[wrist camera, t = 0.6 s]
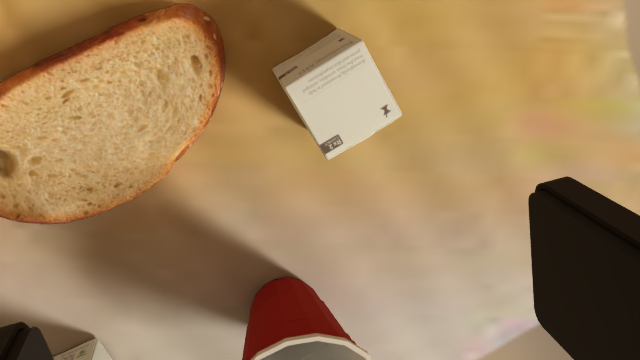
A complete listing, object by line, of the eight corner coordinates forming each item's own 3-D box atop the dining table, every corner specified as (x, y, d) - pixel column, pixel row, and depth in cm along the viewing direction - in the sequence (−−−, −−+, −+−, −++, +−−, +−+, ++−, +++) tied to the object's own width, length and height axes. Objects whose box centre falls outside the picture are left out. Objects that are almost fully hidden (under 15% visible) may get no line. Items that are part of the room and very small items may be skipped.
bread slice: (234, 13, 41) (238, 16, 38) (196, 236, 46) (196, 257, 43) (-42, -48, 37) (-67, -50, 33) (-49, 207, 42) (-72, 228, 38)
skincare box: (337, 26, 42) (364, 36, 36) (374, 94, 45) (405, 115, 38) (269, 69, 43) (282, 87, 36) (309, 134, 45) (329, 163, 38)
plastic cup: (217, 359, 50) (221, 469, 39) (226, 250, 47) (234, 336, 36) (334, 358, 53) (370, 461, 42) (352, 254, 49) (396, 336, 38)
